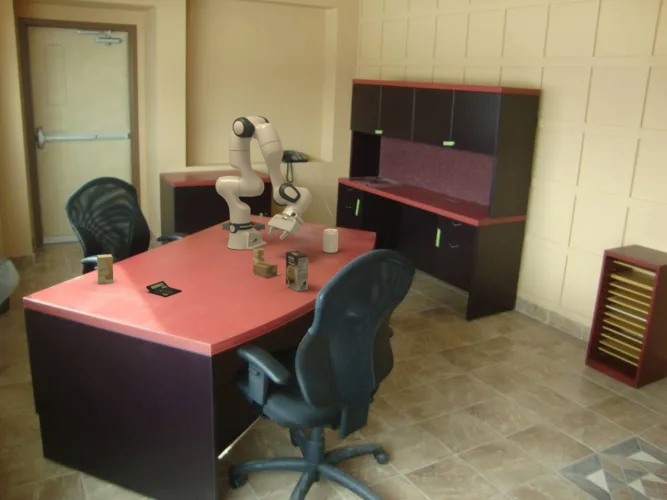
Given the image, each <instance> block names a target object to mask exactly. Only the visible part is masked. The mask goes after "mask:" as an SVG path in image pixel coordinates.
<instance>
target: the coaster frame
mask: <svg viewBox="0 0 667 500" xmlns="http://www.w3.org/2000/svg"><path fill="white" fill-rule="evenodd" d="M250 221H251V222H252V221H253V220H250ZM255 222H256V225H253V228H254V229H256V230H258V231H262V230H261V229H263V230H265V229H266V223H262V222H257V221H255ZM221 225H222V227H221V228H222V230H226V231H230V228H229V222H225V223H222V224H221Z"/></svg>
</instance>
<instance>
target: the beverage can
mask: <svg viewBox="0 0 667 500" xmlns="http://www.w3.org/2000/svg"><path fill="white" fill-rule="evenodd" d="M322 236H323V237H322V251H323V252H324V253H327V254H334V253H337V252H338V251H339V250H338V249H339V231H338V229H336V228H325V229H324V230H323V234H322Z"/></svg>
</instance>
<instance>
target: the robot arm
mask: <svg viewBox="0 0 667 500" xmlns="http://www.w3.org/2000/svg"><path fill="white" fill-rule="evenodd" d="M252 139H256V140H257V142H258V145H259V148H260V152H261V154H262V157H263V160H264V162H265V165H266V168H267V171H268V175H269V176H268V177H269V179H270V183H271V187H272V192H271V194H272V195H271V197H272V201H273V202H274V204H275V205H276V206H279V207H285V206H286V207H285V208H284V210H283V211H282V212H279V213H277V214H275V215H274V216H273V217H271V218H270V220H269V221H268V223H267V225H268V226H269V231H268V232H267V235H268V236H269V237H272V236H273V235H274V231H278V232H282V234H280V235H279V236H278V239H279V240H281V241H283V239H285V238H286V237H287V236H289V235H291V236H294V235H296V234H297V233H298V231H299V230H300V229H301V226H303V225H304V223H305V222H304V220H303V219H302V218H301V217H302V215H303V213H304V212H305V211H306V210H307V209H308V207H309V206H310V204H311V203H312V201H313V195H312V192H311V191H310V190H309V189H308V188H306V187H300V186H296V185H294V184H293V183H290V182H285V181H284V178H283V175H282V172H281V171H282V170H281V163H282V159H283V157H284V148H283V144H282V141H281V138H280V135H279V133H278V132H277V129H276V127H275V126H274V125H273V124H272V123H270V120H268V119H267V118H266V117H263V116H259V115H258V116H256V115H249V116H240V117H237V118H236V119H235V120H234V121H233V123H232V131H231V132H230V135H229V143H228V144H229V145H228V146H229V147H228V150H229V152H228V156H229V165H230V167H232V168H233V169H235V170H237V171H238V172H239V173H240V175H224V176H219V177H218V178H217V179H216V182H215V191H216V192H217V194H218V195H219V196H221V197H222V198H223V199H224V200H225V202H226V203H227V206H228V208H229V209H228V210H229V222H228V223H229V228H230V230H229V234H228V235H229V237H228V242H227V246H226V247H227V248H229V249H232V250H241V251H242V250H246V251H247V250H248V251H249V250H251V251H253V249H256V248H262V247H264V246H267V244H268V243H267V242H266V241H265V240H263V234H262V233H261V232H260V231H259V230H258V231H257V230H256V229H254V228H253V225H256V222H257V221H254V220H251V207H250V206H249V205H248V203H246V202H243V201H241V199H240V198H239V197H249V198H252V197H258V196H261V195H262V194H263V193H264V191H265V183H264V180H263V179H262V178H261V177H260V176H258V174H257V173H256V171H254V169H253V166H252V162H251V141H252ZM251 221H252V222H251Z"/></svg>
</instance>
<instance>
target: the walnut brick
mask: <svg viewBox="0 0 667 500" xmlns="http://www.w3.org/2000/svg"><path fill="white" fill-rule="evenodd" d="M252 266H253V267H252V269H253V270H252V274H253V276H255V277H256V276H257V277H259V278H263V279H268V278H271V276H272V277H275V276H278V275H277V273H278V264H277V263H273V262H270V261H266V260H264V262H260V263H257V264H254V263H252Z"/></svg>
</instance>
